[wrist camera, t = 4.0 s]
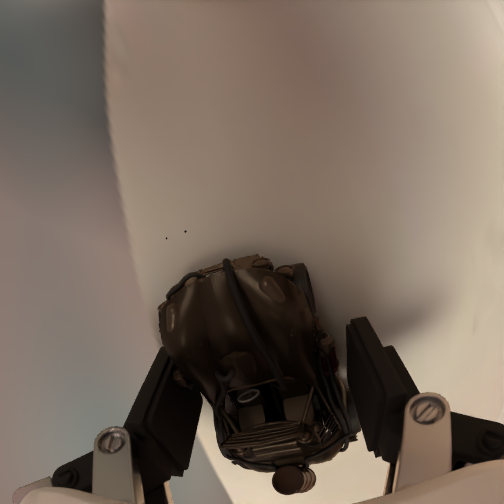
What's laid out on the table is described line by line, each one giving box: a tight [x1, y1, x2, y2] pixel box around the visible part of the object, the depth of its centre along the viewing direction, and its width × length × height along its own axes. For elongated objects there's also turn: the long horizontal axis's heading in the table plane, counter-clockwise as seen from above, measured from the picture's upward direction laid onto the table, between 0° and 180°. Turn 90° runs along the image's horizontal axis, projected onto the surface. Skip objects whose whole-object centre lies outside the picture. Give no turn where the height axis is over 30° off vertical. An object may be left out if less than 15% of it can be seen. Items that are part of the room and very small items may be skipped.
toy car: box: [158, 231, 361, 495], centre depth 9 cm, size 6×12×4 cm, turn 19°
